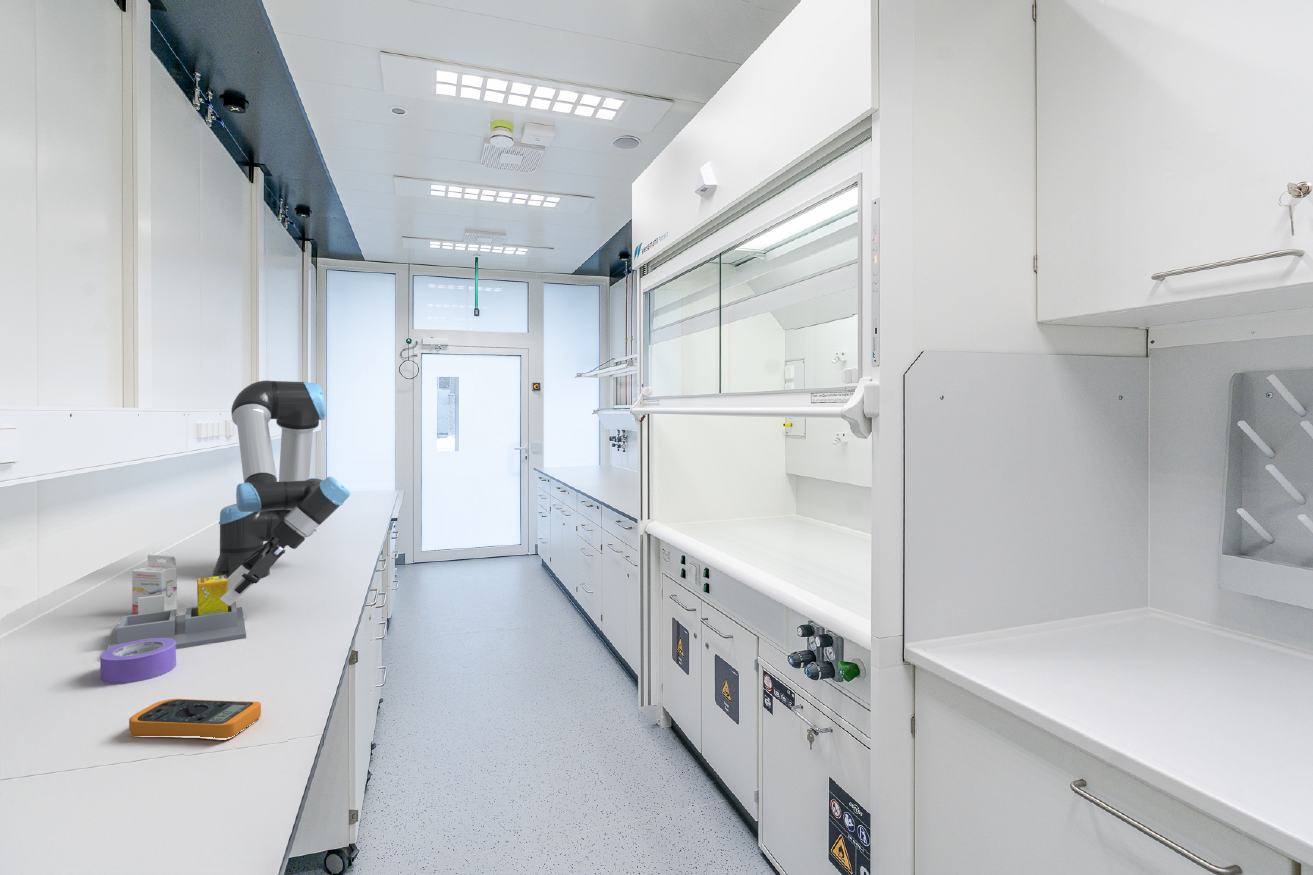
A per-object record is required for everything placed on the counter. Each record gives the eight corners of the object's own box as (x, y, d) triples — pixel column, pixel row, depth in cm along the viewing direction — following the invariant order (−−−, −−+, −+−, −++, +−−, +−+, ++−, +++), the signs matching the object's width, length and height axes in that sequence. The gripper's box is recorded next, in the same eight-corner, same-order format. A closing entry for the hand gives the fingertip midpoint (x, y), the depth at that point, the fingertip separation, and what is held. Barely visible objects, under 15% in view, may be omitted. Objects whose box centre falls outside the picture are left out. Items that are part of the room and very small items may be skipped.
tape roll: (95, 689, 119) (94, 663, 119) (106, 668, 129) (105, 644, 129) (173, 676, 125) (173, 651, 125) (178, 657, 135) (178, 633, 135)
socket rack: (117, 627, 152) (117, 599, 152) (241, 610, 166) (241, 584, 166) (104, 660, 132) (103, 627, 132) (246, 637, 147) (245, 608, 147)
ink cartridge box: (130, 615, 161) (130, 558, 160) (148, 609, 166) (147, 554, 165) (161, 617, 160) (161, 560, 160) (178, 611, 165) (177, 555, 164)
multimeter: (164, 714, 110) (164, 695, 110) (264, 718, 109) (264, 699, 109) (120, 740, 101) (120, 719, 101) (229, 744, 101) (229, 723, 101)
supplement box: (197, 622, 154) (196, 578, 153) (226, 618, 157) (226, 574, 157) (197, 629, 149) (197, 583, 149) (228, 624, 153) (227, 579, 152)
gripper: (312, 546, 153) (239, 618, 145) (301, 530, 174) (236, 592, 166) (286, 526, 150) (210, 598, 142) (278, 512, 170) (211, 574, 162)
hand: (224, 595), depth 154 cm, fingers open, 13 cm apart
